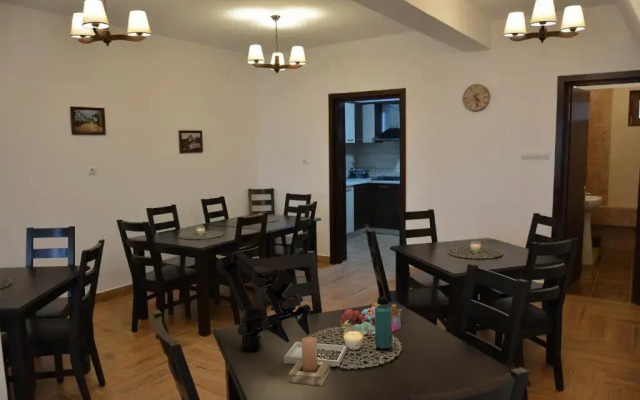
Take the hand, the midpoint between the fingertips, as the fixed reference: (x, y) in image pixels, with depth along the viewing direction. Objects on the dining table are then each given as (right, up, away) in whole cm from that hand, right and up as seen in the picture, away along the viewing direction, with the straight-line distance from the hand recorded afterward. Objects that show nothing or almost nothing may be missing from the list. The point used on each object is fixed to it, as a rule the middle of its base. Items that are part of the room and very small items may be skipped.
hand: (298, 338), depth 174 cm
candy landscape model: (+30, -7, +43) cm, 53 cm away
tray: (+6, -11, +12) cm, 17 cm away
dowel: (+4, -12, -3) cm, 13 cm away
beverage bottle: (+32, -9, +19) cm, 38 cm away
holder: (+4, -12, -3) cm, 13 cm away
